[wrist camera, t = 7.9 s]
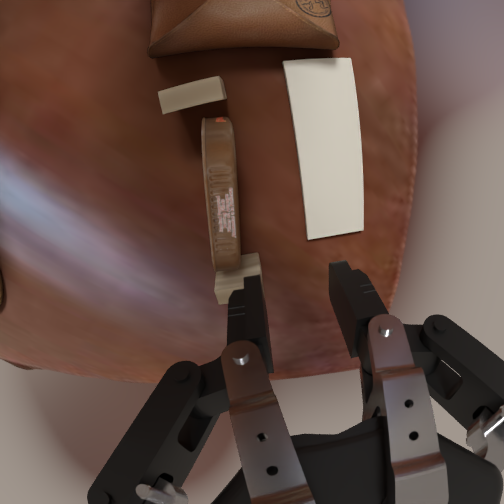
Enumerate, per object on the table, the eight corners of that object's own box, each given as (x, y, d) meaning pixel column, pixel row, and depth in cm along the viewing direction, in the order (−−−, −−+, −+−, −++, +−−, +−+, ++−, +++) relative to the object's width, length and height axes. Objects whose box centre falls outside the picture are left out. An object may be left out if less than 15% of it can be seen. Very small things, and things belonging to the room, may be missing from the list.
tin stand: (174, 92, 24) (157, 91, 18) (223, 80, 23) (218, 75, 18) (221, 272, 35) (219, 304, 30) (260, 265, 35) (264, 297, 30)
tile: (282, 62, 22) (283, 61, 22) (348, 58, 22) (350, 58, 21) (306, 236, 33) (308, 239, 32) (360, 227, 32) (363, 230, 32)
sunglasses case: (331, -20, 16) (354, -1, 14) (323, 30, 22) (340, 59, 20) (146, -11, 16) (128, 10, 13) (159, 39, 22) (147, 69, 20)
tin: (204, 114, 25) (191, 121, 18) (236, 112, 25) (235, 118, 18) (215, 244, 33) (209, 290, 26) (241, 243, 33) (242, 289, 26)
